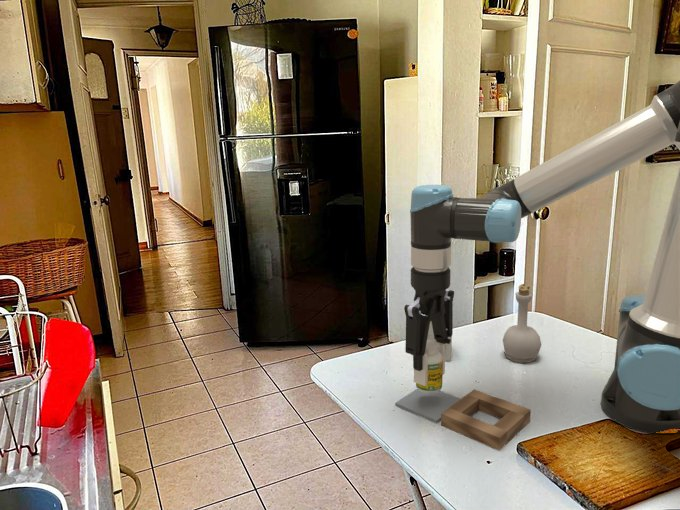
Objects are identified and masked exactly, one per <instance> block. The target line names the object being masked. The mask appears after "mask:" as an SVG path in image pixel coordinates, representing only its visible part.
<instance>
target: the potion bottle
mask: <svg viewBox="0 0 680 510" xmlns="http://www.w3.org/2000/svg"><path fill="white" fill-rule="evenodd" d="M532 297H533V294H532V293H531V292H530V285H529V284H528V283H521V284H519V286H518V291H517V292H515V300H516V302H517V304H518V307H517V321H516V322H517V323H516V324H514V325H512V326H509V327H508V328H507V329H506V331H505V332H504V334H503V338H502V345H503V350H504V354H505V355H506V358H507V359H509V360H510V361H512V362H515V363H520V364H522V363H523V364H528V363H532V362H534V361H535V360H536V358H537V357H538V355H539V353H540V350H541V347H542V341H541V340H542V339H541V337H540V334H539V333H538V331H537V330H536V329H535V328H533V327H532V326H528V315H529V314H528V313H529V303H530V302H531V301H532Z"/></svg>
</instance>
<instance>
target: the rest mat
mask: <svg viewBox="0 0 680 510" xmlns="http://www.w3.org/2000/svg"><path fill="white" fill-rule="evenodd" d="M460 399H462V398H461V397H458V396H455V395H453V394H451V393H448V392H445V391H442V390H440V391H439V392H437V393H431V394H429V393H423V392H421V391H419V390H418V389H417V388H416V389H415V390H412V392H410V393H409V394H407V395H405V396H403V397H402V398H400V399H399V400H397V401H396V402H394V406H395V407H398V408H400V409H403V410H405V411H407V412H410V413H411V414H414V415H416V416H419V417H421V418H422V419H423V418H424V419H425V420H428V421H430V422H433V423H435V424H438V423H439V422H441V413H443V412H444V411H445V410H447V409H448V408H449V407H451V406H452V405H453V404H455V403H456V402H457V401H459V400H460Z"/></svg>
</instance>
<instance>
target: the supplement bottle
mask: <svg viewBox="0 0 680 510" xmlns="http://www.w3.org/2000/svg"><path fill="white" fill-rule="evenodd" d="M425 354H428V368H427V385H426V386H423V385H421V384H418V383H415V387H416V389H418V390H419V391H421V392H423V393H429V394H431V393H437V392H439V391H442V388H443V377H444V374H443V357H442V355H441V353H440V352H439V343H438V342H436V341H431V340H427V343H426V349H425Z"/></svg>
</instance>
